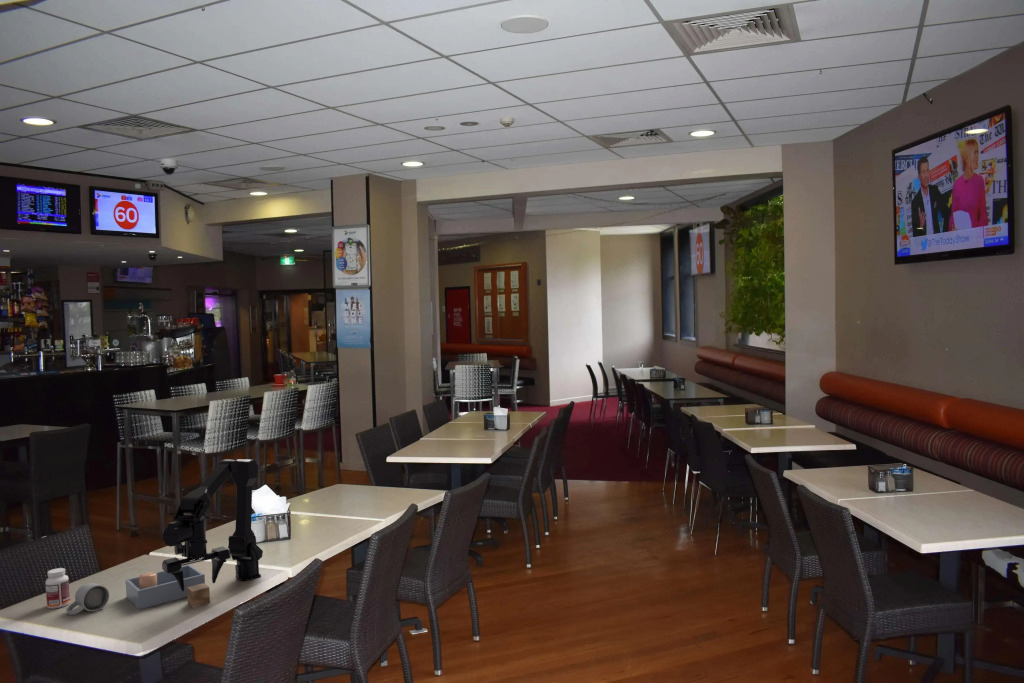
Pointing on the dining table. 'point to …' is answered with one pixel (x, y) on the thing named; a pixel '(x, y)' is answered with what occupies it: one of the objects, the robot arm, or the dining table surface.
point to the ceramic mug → (89, 598)
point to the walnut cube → (198, 595)
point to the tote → (163, 587)
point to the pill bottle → (57, 589)
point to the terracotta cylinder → (148, 580)
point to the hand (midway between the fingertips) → (198, 587)
